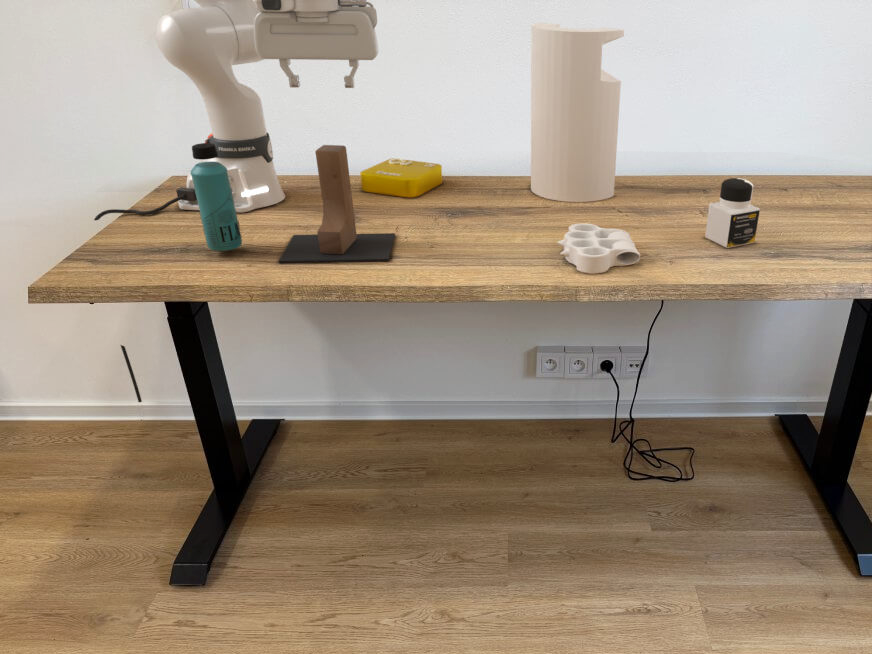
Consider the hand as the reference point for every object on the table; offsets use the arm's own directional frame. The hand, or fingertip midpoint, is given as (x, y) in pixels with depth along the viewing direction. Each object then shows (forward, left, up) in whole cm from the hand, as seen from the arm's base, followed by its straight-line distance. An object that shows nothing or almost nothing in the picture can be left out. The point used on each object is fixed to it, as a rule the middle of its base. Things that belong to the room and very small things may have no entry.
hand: (322, 87), depth 135 cm
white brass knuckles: (+49, -8, -29) cm, 57 cm away
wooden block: (0, -2, -29) cm, 29 cm away
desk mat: (0, -2, -29) cm, 29 cm away
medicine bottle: (+77, -1, -29) cm, 82 cm away
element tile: (+9, +39, -29) cm, 50 cm away
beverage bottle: (-21, -3, -29) cm, 36 cm away
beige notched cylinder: (+47, +32, -29) cm, 64 cm away
